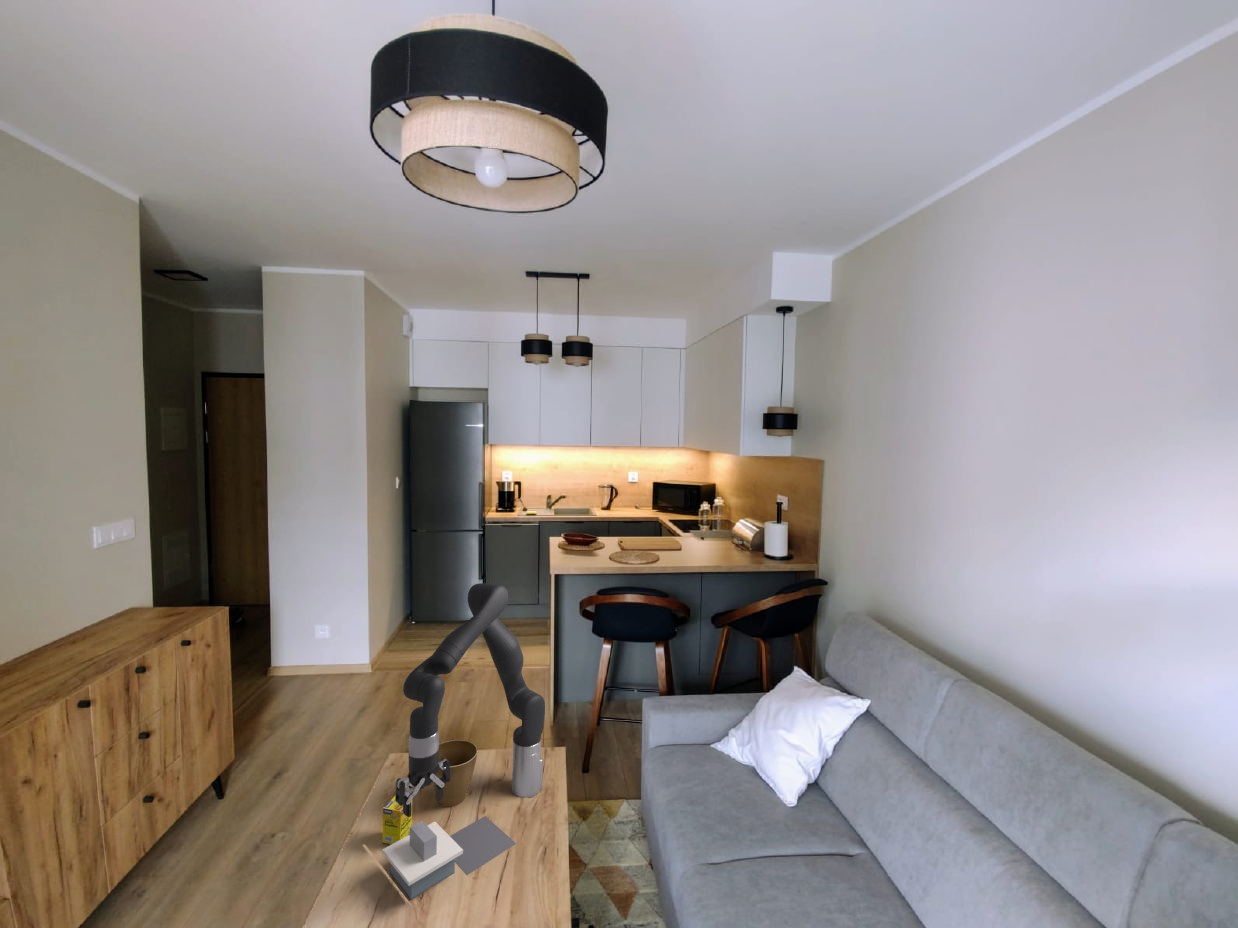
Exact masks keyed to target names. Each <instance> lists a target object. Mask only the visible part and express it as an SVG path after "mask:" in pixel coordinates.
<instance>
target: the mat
mask: <svg viewBox="0 0 1238 928" xmlns="http://www.w3.org/2000/svg"><path fill="white" fill-rule="evenodd" d="M449 836H450V837H451V838H452V839H453V840H454V841H455V842H456V843H457V844H458V845H459V846H460V847H461V848H462V849H463V854H461V855H460V856H458V857H456V858H455V865H457V866H458V867H459V869H461V871H463V872H464V874H465V875H466V876H469V875H470V874H472V873H473V872H475V871H476V870H477V869H479V868H481V867H483V866H484V865H486V864H487V863H489V862H491V861H492V860H493V859H495V858H496V857H498V856H500V855H501V854H503V853H504V852H506V851H508V850H509V849H510V848H513V847H514V846H515V845H517V842H516V841H515V840H513V839H512V838H511V837H510V836H509V835H508V834H506V832H504V831H503V830H502V829H501V828H500V827H499V826H498V825H496V823H494V822H493V821H492V820H491V819H490V818H488V817H487V816H486V815H484V816H482V817H481V818H479V819H477V820H475V821H473V822H472V823H469V824H468V825H466V826H465V827H464V828H461V829H460V830H457V831H456V832H454V833H452V834H451V835H449Z"/></svg>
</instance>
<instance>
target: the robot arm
mask: <svg viewBox="0 0 1238 928" xmlns="http://www.w3.org/2000/svg"><path fill="white" fill-rule="evenodd" d="M467 592H468V593H467V606H468V607H469V611H470V612H471V615H472V616H471V618H469V619H468V620H467V621H465V622H464V623H463V624H461V625H459V627H457V628H455V629H454V630H453V631H451V632H450V633H449V634H447V636H446V637H444V639H443V640H442V641H441V643H440V644H439V645H438V647H437V648H436V649H435V651H434V652H433V653H432V655H430V656H429V657H427V658H426V659H425V660H424V661H423V662H422V663H420V664H419V665H417V667H415V668H414V669H413V670H412V671H411V672H410V673H409V674H408V675H407V677H406V678H405V681H404V683H403V688H402V692H403V695H404V696H405V697H406V698H407V699H409V700H413V701H416V702H420V703H422V706H419V707H416V708H414V709H413V710H412V711H411V713H410V715H409V739H408V774H407V777H403V778H401V777H399V778H397V779H396V782H395V795H394V796H395V801H396V802H397V803H398V804H399V805H400V806H402V805H403V813H404V814H405V815H406V816H407V817H408V818H409V817H411V801H412V802H413V798H415V796H416V795H417V794H418V792H419V791H421V790H423V789H424V788H425V787H428V786H432V783H433V781H434V782H435V783H436V784H437V785H435V788H434V791H435V794H434V795H435V797H434V798H435V800H436V801H438V802H439V801H441V800H442V798H443V788H444V784H445V783H446V782H449V781H450V762H449V761H448V760H447V759H445V758H442V759H441V762H439V744H440V736H439V715H440V714H439V713H440V710H441V706H442V702H443V699H444V695H445V692H446V685H445V682H444V679H443V678H442V677H441V676H439V675H449V674H450V673H452V671H453V670H454V669H455V668H456V666H457V665H458V664H459V662H460V661H461V659H462V658H463V657H464V655H465V654H466V652H468V650H469V648H470V647H471V646H472V644H474V642H475V641H476V640H477V639H478V638H479V637H480V636H481V635H483V639H484V640H485V643H486V646H487V648H488V650H489V653H490V657H491V659H492V662H493V664H494V667H495V669H496V672H497V674H498V676H499V679H500V681H501V683H502V686H503V690H504V694H505V698H506V702H507V705H508V709H509V711H510V713H511V714H512V715H513V716H515V717H516V718H517V719H519V720H521V725H520V726H519V725H518V727H516V728H515V729H514V731H513V734H512V768H511V769H512V770H511V773H512V774H511V792H512V793H513V795H515V796H517V797H519V798H527V799H529V798H530V799H531V798H533V797H535V796H536V795H537V794H538V793H540V790H541V789H542V788H543V773H544V771H543V770H544V769H543V767H544V759H542V755H541V754H542V734H543V732H544V728H545V719H546V717H545V715H546V701H545V699H544V697H543V696H542V695H541V694H539V693H538V692H536V691H533V690H532V689H530V688H529V687H528V686H527V684H526V682H525V679H524V677H523V672H522V670H523V666H524V654H523V651H522V648H521V645H520V643H519V641H518V638H517V637H516V635H514V633H513V632H512V631H511V630H510V629H509V628H508V627H507V626H506V625H505V624H504V623H503V622H502V621H501V620H500V619H499V616H500V615H502V613H503V612H504V611H505V609H506V608H507V606H508V604H509V603H508V602H509V591H508V589H507V588H506V587H505V586H504V585H502V584H497V583H483V582H481V583H480V582H479V583H475V584H473V585H472V586H471V587H470V588H469V590H468V591H467ZM440 768H441V769H442V778H441V779H439V778H438V777H436V775H437V773H438V771H439V769H440ZM413 787H414V788H413Z"/></svg>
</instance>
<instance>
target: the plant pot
mask: <svg viewBox="0 0 1238 928" xmlns="http://www.w3.org/2000/svg"><path fill="white" fill-rule="evenodd" d="M478 752H479V751H478V746H477V745H476V744H475V743H474V742H472V741H469V740H464V739H452V740H447V741H443V742H441V743H439V762H441V759H442V758H445V759H447V760H448V761H449V762H450V781H449V782H446V783H445V784H444V788H443V798H442V800H441V801H438V802H439V804H440V805H442V806H443V807H447V808H451V807H456V806H459V805H460V804H461V803H462V802H463V801H464V800H465V797H466V796H467V794H468V793H467V792H468V790H469V788H470V784H471V781H472V779H473V774H474V770H475V766H476V762H477V756H478ZM436 777H438V778H439V779H441V778H442V769H441V768H440V769H439V771H438V773H437V775H436ZM432 783H433V786H434V789H435V785H437V784H436V783H435V782H434V781H433V782H432Z"/></svg>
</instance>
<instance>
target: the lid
mask: <svg viewBox="0 0 1238 928" xmlns="http://www.w3.org/2000/svg"><path fill="white" fill-rule="evenodd" d="M450 836H451V835H449V834H448V833H447V832H446V830H444V828H442V827H441V826H440V825H439V824H438V823H437V822H436V821H433V822H431V823H429V824H428V825H427V823H425V822H424V821H423V820H421V821H418V822H417V823H415V824H413V825H412V826H411V827H410V835H409V836H407V837H405V838H403V839H401V840H399V841H397V842H395V843H394V844H392V845H389V846H386V847H384V848H382V854H383V855H384V857H385V858H386V860H388V862H389V863H391V864H392V866H393V867H394V868H395V869H396V871H397V872H398V873H399V874H400V876H401V877H402V878H403V879H404V881H405V882H406V883H407V884H408V886H410V885H411V884H413V883H415V882H416V881H418V880H420V879H421V878H423V877H425V876H426V875H428V874H430V873H431V872H433V871H435V870H436V869H438V868H440V867H441V866H443V865H445V864H446V863H448V862H450V861H451V860H453V859H455V858H456V857H458V856H460V855H461V854H463V849H462V848H461V847H460V846H459V845H458V844H457V843H456V842H455V841H454V840H453V839H452V838H451V837H450Z"/></svg>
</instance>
